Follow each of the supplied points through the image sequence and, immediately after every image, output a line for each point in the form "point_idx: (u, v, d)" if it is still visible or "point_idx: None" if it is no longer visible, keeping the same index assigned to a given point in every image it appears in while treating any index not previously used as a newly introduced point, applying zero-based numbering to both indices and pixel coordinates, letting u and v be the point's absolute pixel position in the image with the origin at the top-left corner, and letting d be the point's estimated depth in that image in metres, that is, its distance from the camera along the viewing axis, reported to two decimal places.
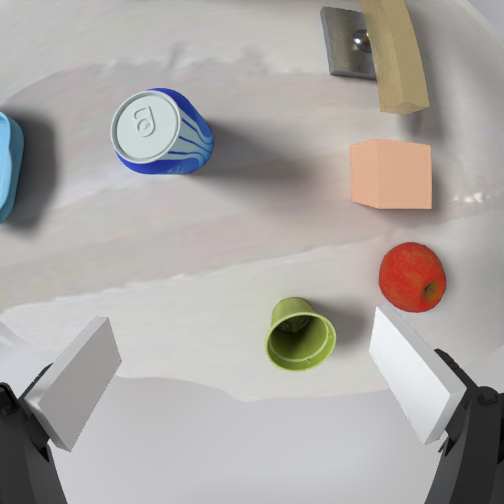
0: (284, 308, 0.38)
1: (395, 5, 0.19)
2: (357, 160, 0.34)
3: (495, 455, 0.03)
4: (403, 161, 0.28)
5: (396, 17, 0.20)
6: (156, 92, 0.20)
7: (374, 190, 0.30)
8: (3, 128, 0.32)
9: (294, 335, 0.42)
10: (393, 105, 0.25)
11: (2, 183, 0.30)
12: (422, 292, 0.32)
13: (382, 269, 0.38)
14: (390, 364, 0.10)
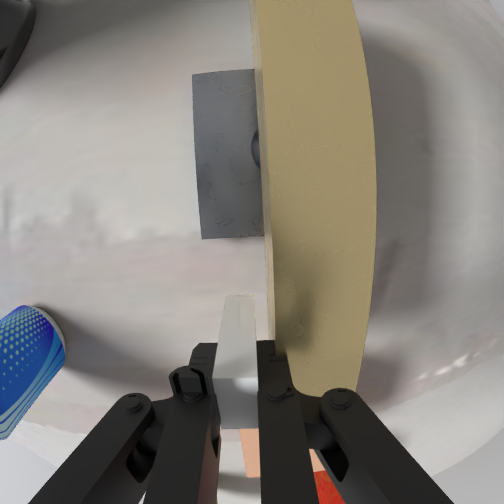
0: None
1: (322, 92, 0.08)
2: None
3: (306, 453, 0.05)
4: None
5: (315, 153, 0.08)
6: None
7: None
8: None
9: None
10: None
11: None
12: None
13: None
14: None
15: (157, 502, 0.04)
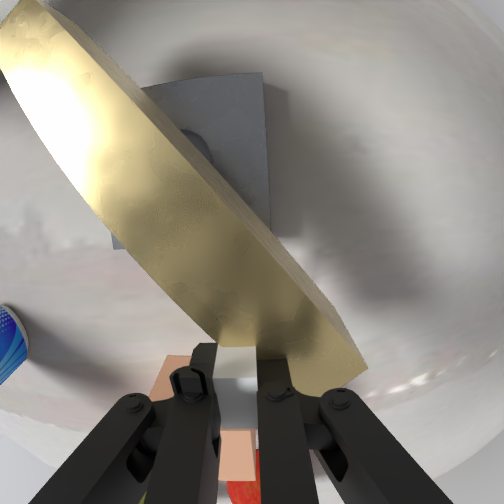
0: None
1: (91, 128, 0.08)
2: None
3: (305, 453, 0.05)
4: None
5: (116, 176, 0.08)
6: None
7: None
8: None
9: None
10: None
11: None
12: None
13: None
14: None
15: (157, 502, 0.04)
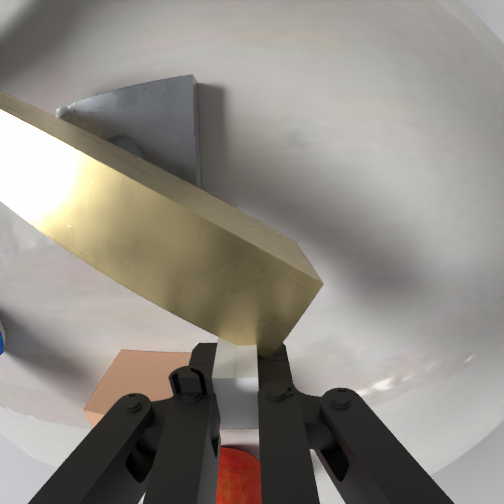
0: None
1: (6, 157, 0.08)
2: None
3: (306, 453, 0.05)
4: None
5: (29, 183, 0.08)
6: None
7: None
8: None
9: None
10: None
11: None
12: None
13: None
14: None
15: (157, 502, 0.04)
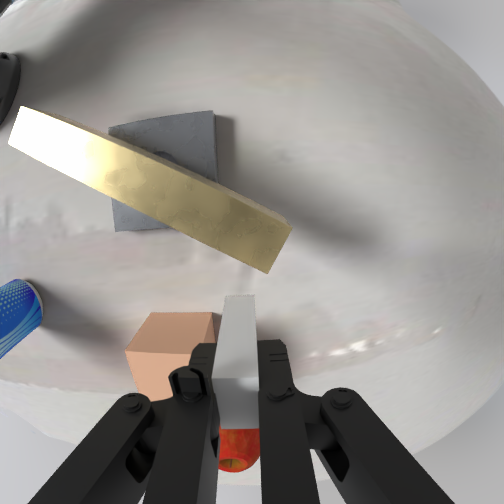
0: None
1: (104, 164, 0.17)
2: None
3: (306, 453, 0.05)
4: (161, 371, 0.26)
5: (124, 180, 0.18)
6: None
7: None
8: None
9: None
10: None
11: None
12: (220, 462, 0.29)
13: None
14: None
15: (156, 502, 0.04)
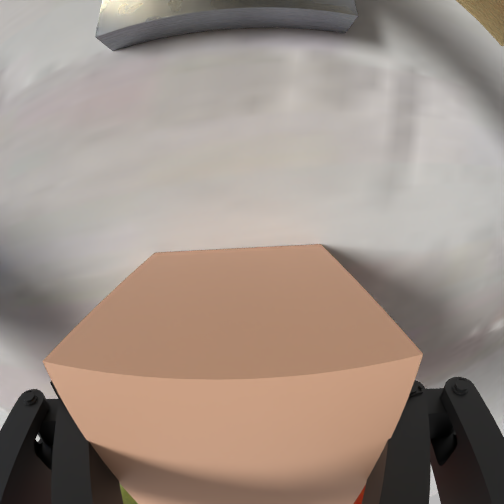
0: None
1: None
2: None
3: (427, 449, 0.05)
4: (211, 451, 0.05)
5: None
6: None
7: None
8: None
9: None
10: None
11: None
12: None
13: None
14: None
15: (61, 494, 0.03)
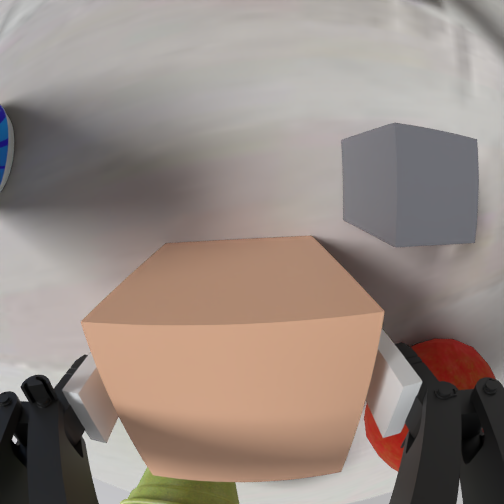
0: None
1: None
2: None
3: (458, 451, 0.04)
4: (217, 396, 0.07)
5: None
6: None
7: None
8: None
9: None
10: None
11: None
12: None
13: None
14: None
15: (38, 495, 0.03)
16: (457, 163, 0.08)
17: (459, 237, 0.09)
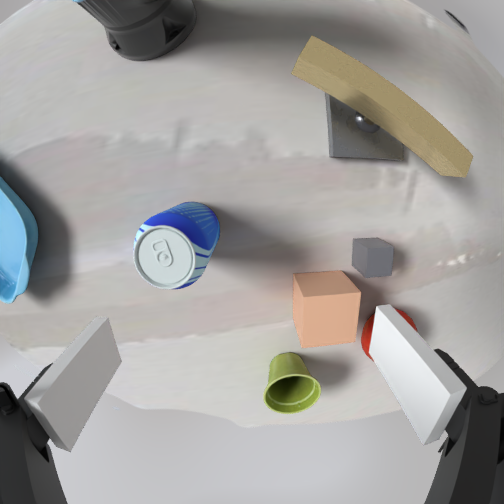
0: (279, 365, 0.44)
1: (396, 100, 0.26)
2: (295, 293, 0.42)
3: (495, 455, 0.03)
4: (329, 311, 0.36)
5: (408, 113, 0.26)
6: (171, 228, 0.26)
7: (301, 332, 0.38)
8: None
9: (288, 381, 0.49)
10: (454, 175, 0.30)
11: (19, 279, 0.37)
12: None
13: (364, 332, 0.44)
14: (390, 364, 0.10)
15: (10, 498, 0.02)
16: (385, 255, 0.37)
17: (385, 274, 0.38)
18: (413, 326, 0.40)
